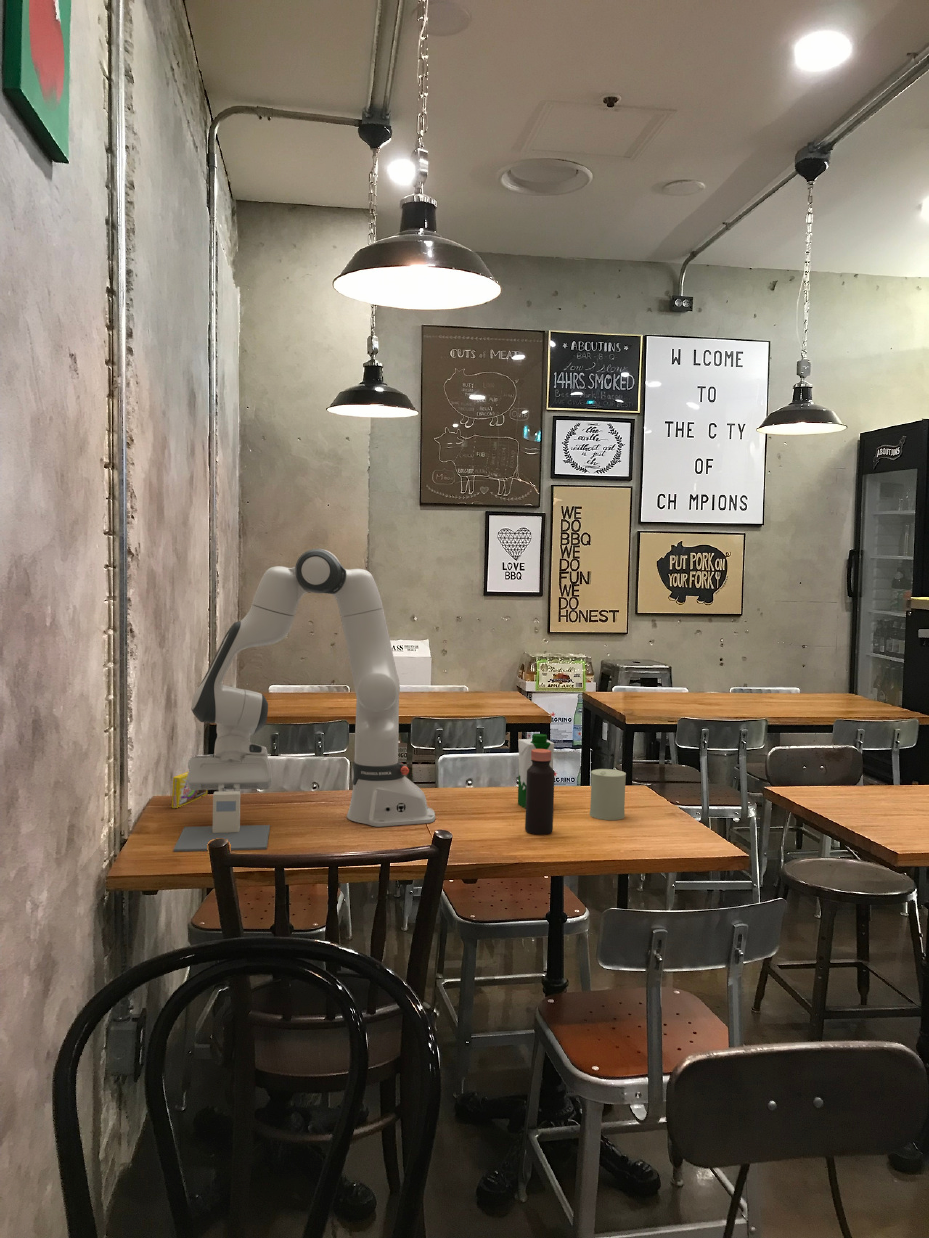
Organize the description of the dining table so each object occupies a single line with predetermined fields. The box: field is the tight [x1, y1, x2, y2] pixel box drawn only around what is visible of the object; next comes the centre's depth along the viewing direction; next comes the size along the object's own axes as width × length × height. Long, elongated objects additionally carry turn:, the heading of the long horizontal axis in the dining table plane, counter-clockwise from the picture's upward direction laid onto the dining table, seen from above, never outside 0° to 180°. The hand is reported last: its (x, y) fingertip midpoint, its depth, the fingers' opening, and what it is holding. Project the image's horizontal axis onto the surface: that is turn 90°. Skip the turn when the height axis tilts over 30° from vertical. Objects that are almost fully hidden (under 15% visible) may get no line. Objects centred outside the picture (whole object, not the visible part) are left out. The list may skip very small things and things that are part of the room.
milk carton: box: [517, 733, 555, 810], centre depth 244 cm, size 9×9×20 cm
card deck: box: [212, 790, 241, 833], centre depth 212 cm, size 6×3×9 cm, turn 100°
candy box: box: [171, 770, 208, 809], centre depth 240 cm, size 16×2×8 cm, turn 168°
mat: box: [172, 824, 271, 853], centre depth 207 cm, size 20×18×1 cm
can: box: [589, 768, 627, 821], centre depth 236 cm, size 9×9×12 cm
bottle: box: [524, 749, 556, 836], centre depth 219 cm, size 7×7×20 cm
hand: (228, 802), depth 216 cm, fingers closed
